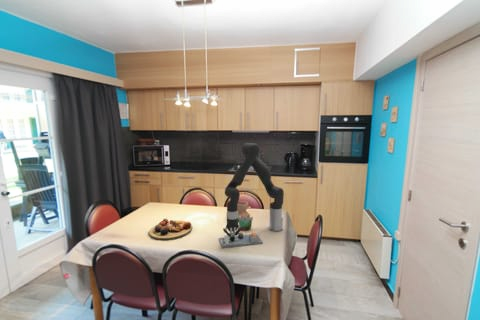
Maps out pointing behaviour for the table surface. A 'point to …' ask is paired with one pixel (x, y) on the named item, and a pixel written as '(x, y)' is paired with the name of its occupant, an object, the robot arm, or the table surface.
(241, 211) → the ceramic jug
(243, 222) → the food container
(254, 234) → the orange plunger
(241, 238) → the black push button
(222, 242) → the panel
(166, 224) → the wooden plate with food
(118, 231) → the table surface
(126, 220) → the table surface
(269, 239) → the table surface
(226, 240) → the grey slider knob
